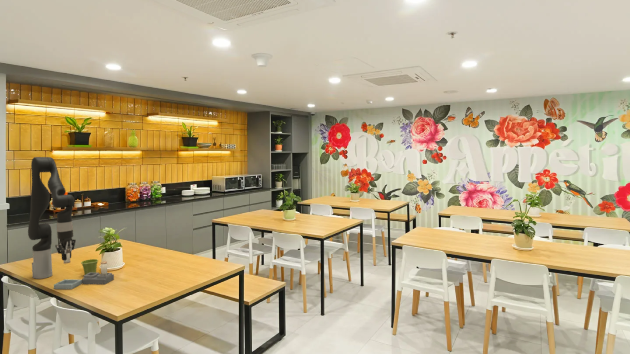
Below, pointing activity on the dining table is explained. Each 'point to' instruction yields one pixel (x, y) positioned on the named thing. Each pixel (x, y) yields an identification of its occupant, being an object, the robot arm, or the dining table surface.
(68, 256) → the fuse
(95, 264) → the plant pot
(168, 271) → the dining table surface
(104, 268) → the fuse
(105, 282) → the fuse block
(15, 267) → the dining table surface
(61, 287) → the parts tray
